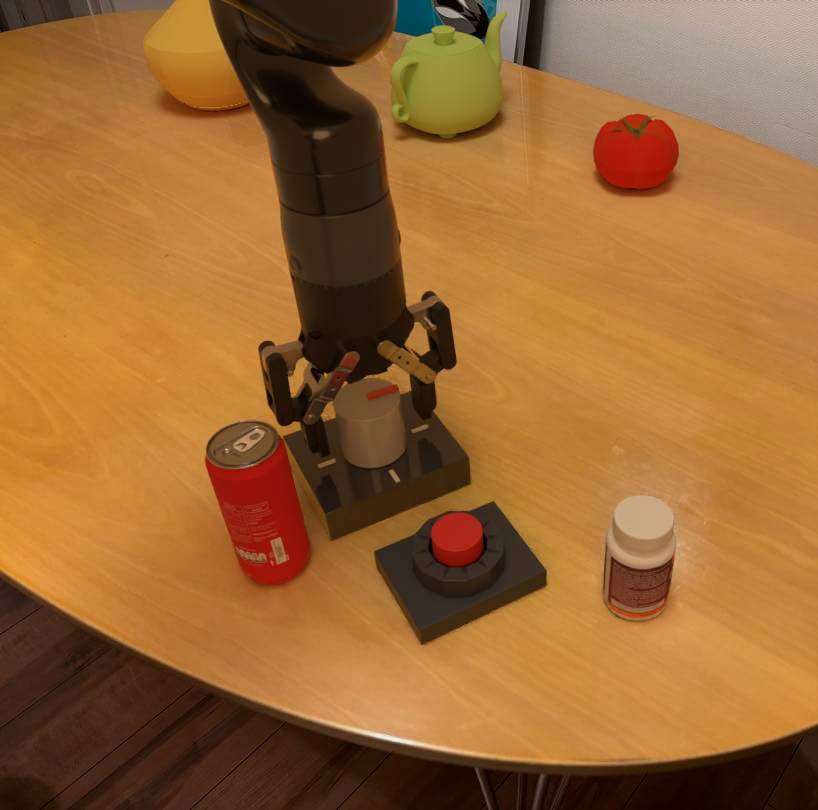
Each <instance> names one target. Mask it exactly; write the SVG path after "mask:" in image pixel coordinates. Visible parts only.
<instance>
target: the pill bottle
mask: <svg viewBox="0 0 818 810" xmlns="http://www.w3.org/2000/svg"><path fill="white" fill-rule="evenodd" d="M612 516H613V517H612V523H611V525H609V527H608V530H607V531H606V534H605V546H604V547H605V549H604V563H603V577H602V578H603V579H602V597H603V600H604V602H605V604H606V606H607V607H608V609H609V610H610V611H611V612H612V613H614V614H615V615H616V616H618V617H620V618H622V619H624V620H628V621H638V622H639V621H646V620H650V619H653V618H656V617H657V616H659V615H660V614H661V613H662V612H663V611H664V610H665V609H666V606H667V604H668V601H669V597H670V592H671V591H670V590H671V584H672V578H673V572H674V564H675V558H676V551H677V538H676V537H677V536H676V534H675V532H674V531H675V530H674V529H675V528H674V527H675V515H674V512H673V510H672V509H671V507H670V506H669V505H668V504H667V503H666V502H665V501H664V500H662V499H660V498H658V497H655V496H651V495H646V494H637V495H632V496H628V497H625V498H624V499H622V500H621V501H620V502H619V503H618V504H617V505H616V507H615V508H614V511H613V515H612Z"/></svg>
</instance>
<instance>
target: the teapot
mask: <svg viewBox="0 0 818 810" xmlns="http://www.w3.org/2000/svg"><path fill="white" fill-rule="evenodd" d="M507 15H508V12H507V11H500V12H499V13H497V14H495V16H494V17H492V19H491V20H490V22H489V24H488V26H487V30H486V35H485V40H484V42H483V41H482V40H481V39H480V38H478V37H476V36H474V35H472V34H467V33H465V32H462V31H456V28H455V27H453V26H451V25H443V24H442V25H437V26H434V27H432V28H431V32H429V33H424V34H422V35H419V36H416V37H414V38H412V39H410V40H408V41H407V43H406V44H405V45H404V47H403V49H402V51H401V54H400V56H399V58H398V59H397V60H396V61H395V62H394V63H393V65H392V66H391V69H390V72H389V80H390V84H391V89H390V102H391V109H390V115H391V118H392V120H394V121H395V122H396V123H405V124H406V125H408V126H410V127H411V128H412V129H413V128H414V129H415V130H418V131H420V132H425V133H429V134H433V135H438V136H439V137H440V138H443V139H452V138H455V137H457V134H460V133H464V132H469V131H472V130H473V131H474V130H476V129H479V128H481V127H484V126H485V125H487V124H488V123H490V122H491V121H492V120H493V119H494V118H495V117H496V115H497V114H498V113H499V111H500V110H501V108H502V107H503V105H504V101H505V98H504V97H505V96H504V87H503V83H502V78H501V74H500V72H501V70H502V61H503V60H502V58H503V57H502V47H501V29H502V25H503V23H504V21H505V19H506V17H507Z"/></svg>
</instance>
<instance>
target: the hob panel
mask: <svg viewBox="0 0 818 810" xmlns="http://www.w3.org/2000/svg"><path fill="white" fill-rule="evenodd" d="M400 394H401V401H402V408H403V416H404V424H405V431H406V439H407V446H406V449H405V451H404V453H403V454H402V455H401V456H400V458H398V459H397V460H396V461H394V462H393V463H391V464H388V465H386V466H382V467H378V468H362V467H358V466H355V465H353V464H351V463H349V462H348V461H347V460H346V459H345V458H344V456H343V454H342V450H341V445H340V440H339V435H338V430H337V425H336V419H335V417H333V418H329V419H327V420H323V421H324V426H325V430H326V435H327V440H328V445H329V450H330V455H328V456H326V457H323V458H321V457H320V455H319V453H318V452H317V453H314V454H313V453H312V452H311V451H310V450H309V448H308V446H307V445H306V443H305V441H304V439H303V435H302V431H301V429H299V430H296V431H293V432H291V433H288V434H284V435H282V438H283V440H284V443H285V446H286V450H287V454H288V458H289V462H290V466H291V470H292V472H294V474H295V476H296V478H297V480H298V482H299V484H300V485H301V488H302V489H303V491H304V493H305V495H306V496H307V499H308V501H309V502H310V504H311V506H312V508H313V510H314V512H315V514H316V515H317V517H318V519H319V521H320V522H321V525H322V526H323V528H324V530H325V532H326V534H327V536H328V537H329V539H330V541H334V540H337V539H339V538H341V537H344V536H347V535H349V534H351V533H354V532H356V531H359V530H362V529H363V528H366V527H369V526H371V525H373V524H376V523H378V522H380V521H381V522H382V521H383V520H386V519H388V518H391V517H393V516H395V515H398V514H400V513H403V512H405V511H407V510H410V509H412V508H415V507H418V506H420V505H422V504H425V503H427V502H430V501H431V500H435V499H437V498H439V497H442V496H444V495H446V494H449V493H452V492H454V491H456V490H459V489H461V488H464V487H466V486H469V485H471V484H472V480H471V478H472V477H471V466H470V457H469V455H468V454H467V453H466V451H465V449H463V447H462V446H461V444H460V443H459V442H458V441H457V439H456V438H455V437H454V435H453V434H452V433H451V432H450V430H449V429H448V428H447V427H446V425H445V424H444V422H443V421H442V420H441V419H440V417H439V416H438V415H437V413H436V412H435V410H432V411H431V413H432V417H431V418H429V419H426V420H422V419H421V417H420V416H419V415H418V413H417V412H416V411H415V409H414V407H413V402H412V394H411V390H409V391H407V392H403V393H400Z"/></svg>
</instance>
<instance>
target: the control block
mask: <svg viewBox="0 0 818 810" xmlns="http://www.w3.org/2000/svg"><path fill="white" fill-rule="evenodd" d="M451 513H466V514H469V515H472V516H474V517H475V518H476V519H477V520H478V521H479V522H480V523H481V526H482V530H483V552H482V554H481V556H480V557H479V558H478V559H477V560H476V561H475V562H473V563H472V564H470V565H467V566H464V567H450V566H446V565H444V564H442V563H440V562H439V561H438V560H437V559H436V557H435V556H434V553H433V547H432V538H431V530H432V527H433V525H434V524H435V522H436V521H437V520H438V519H440V518H441V517H443V516H445V515H447V514H451ZM373 554H374V560H375V565H376V568H377V570H378V572H379V573H380V575H381V576H382V579H383V580H384V582H385V584H386V585H387V587H388V589H389V591H390V592H391V594H392V596H393V598H394V599H395V601H396V602H397V604H398V606H399V609H400V610H401V612H402V613H403V615H404V616H405V618H406V620H407V622H408V623H409V625H410V627H411V629H412V631H413V632H414V634H415V636H416V638H417V639H418V641H419V642H420V644H421V645H424V644H426V643H428V642H431V641H433V640H435V639H436V638H439V637H441V636H444V635H445V634H447V633H450V632H451V631H454V630H456V629H458V628H460V627H462V626H464V625H466V624H468V623H471V622H472V621H475V620H477V619H479V618H481V617H483V616H485V615H487V614H489V613H491V612H493V611H495V610H498V609H500V608H502V607H504V606H506V605H508V604H510V603H512V602H514V601H516V600H518V599H521V598H522V597H525V596H527V595H529V594H531V593H534V592H536V591H537V590H539V589H541V588H543V587H545V586H547V579H548V577H547V576H548V575H547V573H548V570H547V569H546V568H545V566H544V565H543V564H542V562H541V561H540V560H539V559H538V557H537V555H536V554H535V553H534V552H533V550H532V549H531V548H530V546H529V545H528V544H527V543H526V541H525V540H524V538H523V537H522V536H521V535H520V533H519V532H518V530H517V529H516V528H515V527H514V526H513V524H512V523H511V522H510V520H509V519H508V518H507V516H506V515H505V513H504V512H503V511H502V510H501V508H500V507H499V506H498V504H497V503H496V502H495V500H492V501H489V502H487V503H485V504H483V505H480V506H478V507H475V508H473V509H471V510H448V511H445V512H443V513H441V514H438V515H435V516H433V517H431V518H428V519H427V520H426V521H424V523H423V524H422V525H421V526H420V528H419V529H418V530H417V531H416V532H415V533H414V534H412V535H409V536H407V537H405V538H402V539H399V540H397V541H395V542H392V543H390V544H388V545H386V546H384V547H380V548H378V549H376V550H374V551H373Z"/></svg>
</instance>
